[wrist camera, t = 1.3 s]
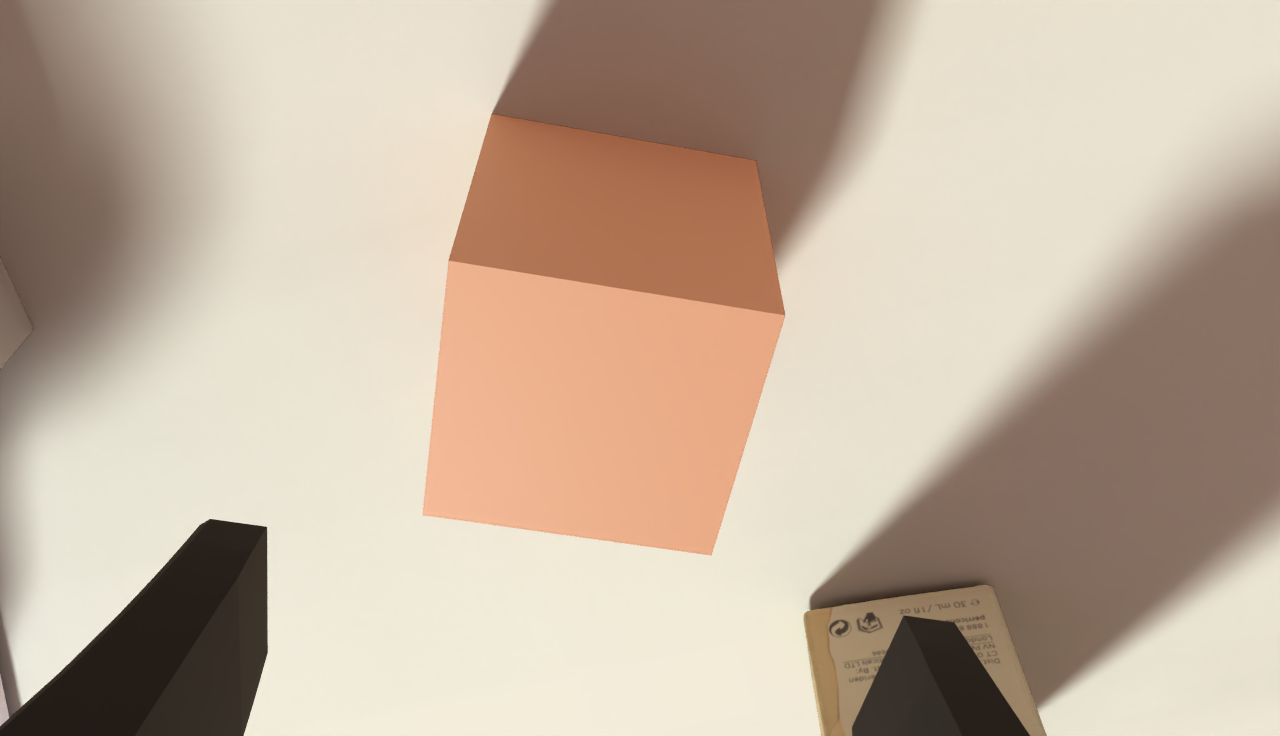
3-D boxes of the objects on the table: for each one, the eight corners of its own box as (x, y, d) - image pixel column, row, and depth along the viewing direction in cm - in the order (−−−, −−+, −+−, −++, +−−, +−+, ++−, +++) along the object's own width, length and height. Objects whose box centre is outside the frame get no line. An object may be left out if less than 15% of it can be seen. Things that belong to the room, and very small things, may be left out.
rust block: (699, 371, 22) (711, 555, 18) (466, 335, 21) (422, 515, 17) (755, 158, 19) (785, 315, 15) (491, 112, 19) (448, 259, 15)
